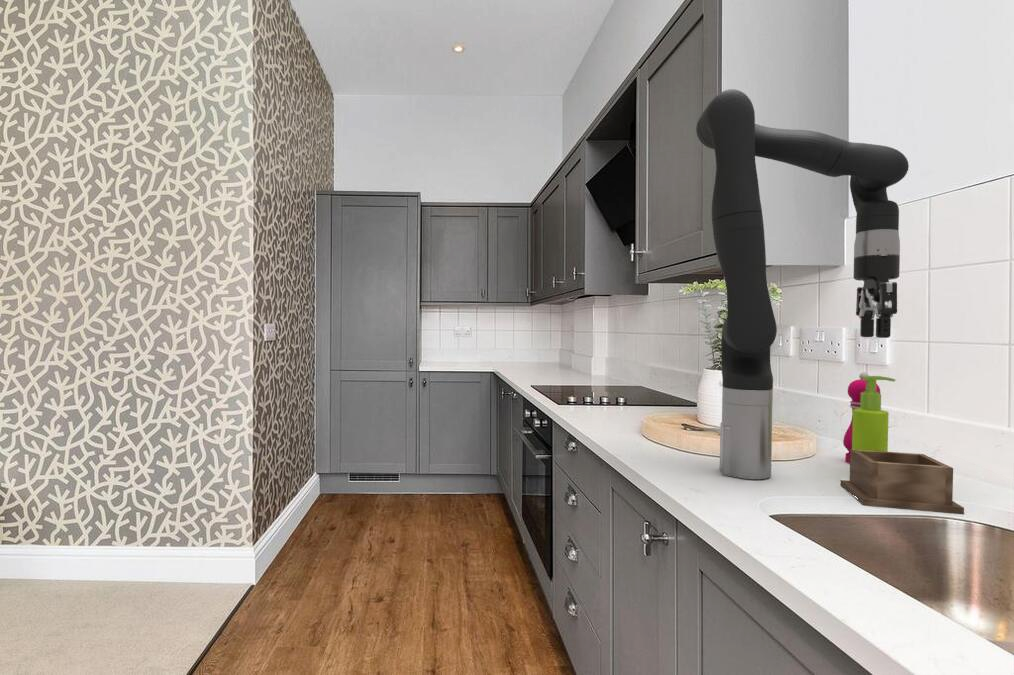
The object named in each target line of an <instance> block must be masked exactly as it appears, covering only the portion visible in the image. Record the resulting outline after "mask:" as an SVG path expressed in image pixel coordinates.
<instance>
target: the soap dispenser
mask: <svg viewBox="0 0 1014 675" xmlns="http://www.w3.org/2000/svg"><path fill="white" fill-rule="evenodd" d="M862 380H866V391H864V392H862V393H861V403H860V408H859V409H853V429H852V449H853V450H868V451H884V452H889V451H888V449H889V412H888V411H886V410H882V393H881V392H880V393H878V392H876V384H877V381H888V382H896V379H895V378H892V377H886V376H881V375H869V376H862Z"/></svg>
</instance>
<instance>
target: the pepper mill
mask: <svg viewBox="0 0 1014 675" xmlns="http://www.w3.org/2000/svg"><path fill="white" fill-rule="evenodd" d="M862 376H870V374H868V372H865V371H864V372H863V371H862V372H860V374H859V379H855V380H853V381H851V382H850V383H849V385H848V386H847V394H848V395H847V396H848V397H849V398H851V401H849V403H850V405H849V407H850V408H851V409H852V410H851V412H852V415H851V421H850V424H849V426H848V428H847V430H846V431H845V434H844V436H843V441H842V442H843V446H844V448H845V449H846V450H847V452H846V453H845V459H844V460H845V462H846V463H847V464H849V465H850V449H852V429H853V409H859V408H860V403H861V393H862V392H864V391H866V380H862ZM876 392H878V393H880V394H881V388H880V386H879V385H878V384H877V383H876Z"/></svg>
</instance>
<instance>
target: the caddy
mask: <svg viewBox="0 0 1014 675" xmlns="http://www.w3.org/2000/svg"><path fill="white" fill-rule="evenodd" d="M953 486H954V467H952V466H950V465H947V464H945V463H943V462H941V461H938V460H937V459H934V458H932V457H931V456H929V455H926V454H925V453H915V452H914V453H913V452H911V453H910V452H899V451H898V452H897V451H888V452H884V451H868V450H853V449H850V464H849V480H846V479H845V480H843V479H841V480H840V487H842V488H843V489H844V488H845V489H846V490H847V491H846V490H845V489H844V490H845V491H846V492H848V493H849V492H850V493H851V494H852V495H854V496H856V497H857V498H858V500H857V502H859V503H860V504H861V505H862V506H870V507H872V506H873V507H880V508H881V507H882V508H892V509H902V510H903V509H904V510H915V511H926V512H938V513H949V514H960V515H964V514H965V507H964V506H962V505H960V504H958V503H957V502H955V501H953V494H954V493H953V491H954V489H953V488H954V487H953ZM850 493H849V494H850ZM851 494H850V495H851ZM852 495H851V496H852Z"/></svg>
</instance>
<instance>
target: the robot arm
mask: <svg viewBox="0 0 1014 675" xmlns="http://www.w3.org/2000/svg"><path fill="white" fill-rule="evenodd" d="M755 113H756V112H755V109H754V105H753V102H752V101H751V99H750V98H749V97H748V95H747V94H746V93H745V92H743V91H742V90H740V89H735V88H734V89H733V88H732V89H730V88H729V89H726V90H723V91H722V92H720V93H718V94H717V95H716V96H715V97H714V98H712V99H711V101H710V102H709V103H708V104H707V106H706V108H704V111H703V112H702V113H701V114H700V117H699V118H698V121H697V123H696V130H695V132H696V136H697V138H698V140H699V141H700V143H701V144H702V145H703V146H705V147H706V148H708V149H711V150H713V151H714V155H715V165H716V166H715V168H716V169H715V177H714V178H715V180H714V185H713V193H712V200H711V201H712V202H711V224H712V225H711V226H712V233H713V240H714V241H713V242H714V245H715V251H716V255H717V258H718V262H719V265H720V268H721V271H722V274H723V275H722V276H723V277H724V282H725V288H726V303H727V304H726V305H727V306H726V311H727V312H726V318H725V319H724V321H723V324H722V329H721V377H722V384H721V385H722V387H721V388H722V390H721V391H722V392H721V393H722V396H721V397H722V398H721V422H720V424H719V426H720V427H719V435H720V436H719V470H720V472H721V475H722V476H729V477H734V478H739V479H744V480H745V479H747V480H766V479H770V478H771V477H772V450H773V449H772V445H773V443H772V442H773V398H774V376H773V372H772V367H771V366H772V365H771V347H772V345H773V344H774V343H775V340H776V337H777V332H778V331H777V330H778V329H777V323H776V317H775V314H774V310H773V305H772V301H771V297H770V291H769V287H768V281H767V256H766V255H767V254H766V240H765V227H764V218H763V209H762V202H761V195H760V188H759V178H758V171H757V164H756V157H759V158H761V159H762V158H763V159H767V160H772V161H775V162H781V163H785V164H787V165H792V166H794V167H795V166H796V167H798V168H801V169H805V170H807V171H811V172H814V173H818V174H819V175H820V174H821V175H823V176H827V177H831V178H839V177H842V176H849V190H850V193H851V197H852V204H853V206H854V208H855V212H856V218H855V238H854V245H853V279H854V280H856V281H863V285H862V286H860V287H859V286H858V287H856V288H857V289H856V303H855V305H856V307H855V308H856V310H855V315H856V316H857V317H858V318H859V320H860V331H859V332H860V333H859V336H860V337H862V338H873V337H874V336H876V338H878V339H881V338H882V339H883V338H884V339H885V338H886V339H888V338H891V328H892V327H891V324H892V318H893V316H894V315H897V313H898V283H897V282H896V281H891V280H896V279H898V278H900V261H901V259H900V258H901V257H900V256H901V240H900V233H899V232H900V231H899V228H900V223H899V222H900V208H899V205H898V202H895V201H893V200H889V198H888V193H887V192H888V191H887V188H889V187H891V186H894V185H896V184H898V183H899V182H900V181H901V180H903V179H904V178H905V177H906V176H907V174H908V172H909V168H910V167H909V166H910V164H909V161H908V158H907V157H906V156H905V155H904V154H903V153H902V152H901V151H900V150H898V149H897V148H894V147H891V146H888V145H880V144H874V143H873V144H872V143H864V142H851V141H848V140H845V139H842V138H839V137H836V136H834V135H830V134H826V133H822V132H820V131H814V130H807V129H787V128H785V129H784V128H775V127H769V126H765V125H760V124H757V123H756V117H755V116H756V114H755ZM875 317H876V318H875ZM874 333H875V334H874Z"/></svg>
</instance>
